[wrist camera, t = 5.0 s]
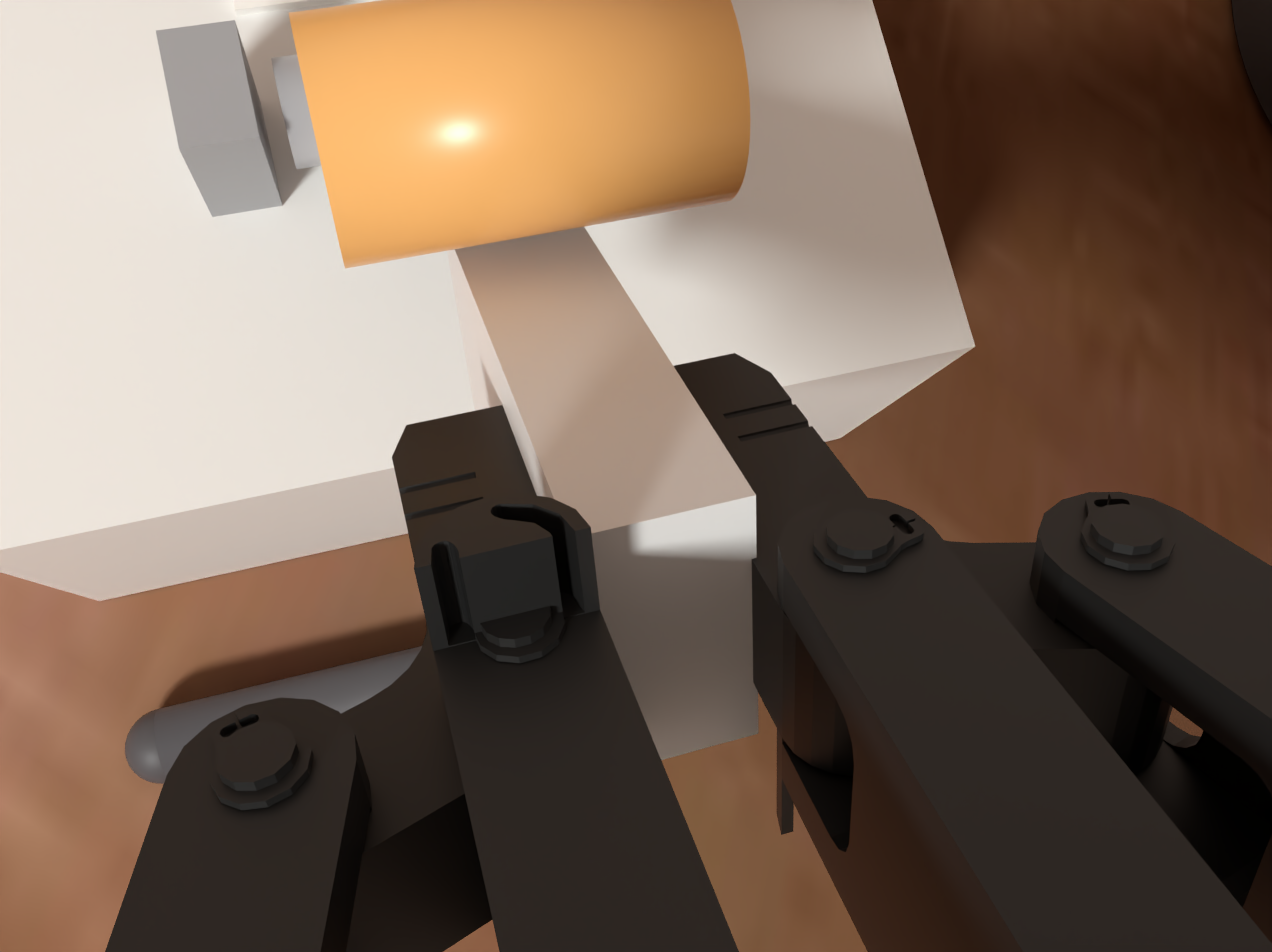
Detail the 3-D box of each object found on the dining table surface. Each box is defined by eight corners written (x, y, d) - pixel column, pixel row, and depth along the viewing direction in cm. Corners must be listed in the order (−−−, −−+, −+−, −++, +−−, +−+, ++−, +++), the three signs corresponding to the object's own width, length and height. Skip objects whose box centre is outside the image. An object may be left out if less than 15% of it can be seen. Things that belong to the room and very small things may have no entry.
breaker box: (722, 12, 32) (851, -317, 22) (885, 603, 29) (1118, 550, 19) (13, 113, 28) (-235, -221, 18) (133, 791, 26) (-74, 849, 16)
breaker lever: (554, 0, 21) (787, -59, 11) (574, 138, 22) (808, 205, 12) (268, 39, 20) (225, 16, 10) (301, 181, 21) (292, 297, 11)
